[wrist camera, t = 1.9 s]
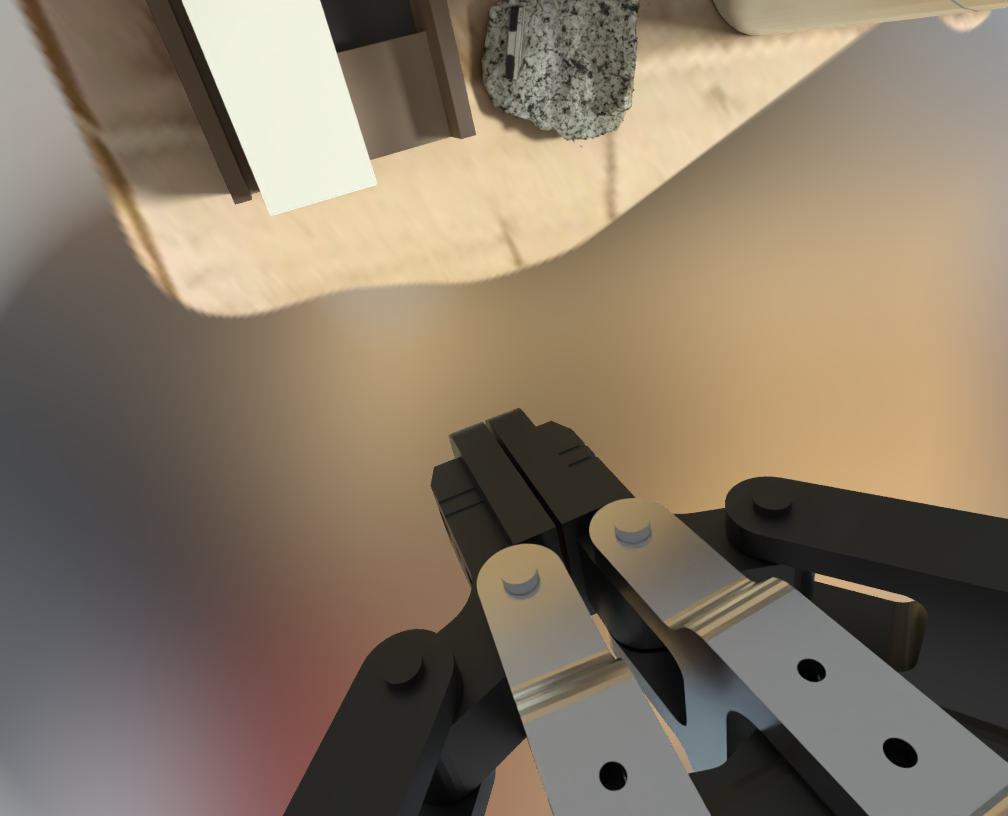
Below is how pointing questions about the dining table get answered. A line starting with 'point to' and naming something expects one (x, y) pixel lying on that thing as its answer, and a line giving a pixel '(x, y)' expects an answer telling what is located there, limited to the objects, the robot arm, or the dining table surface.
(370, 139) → the box
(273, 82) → the brick
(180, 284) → the dining table surface
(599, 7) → the rock sample
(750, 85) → the dining table surface
